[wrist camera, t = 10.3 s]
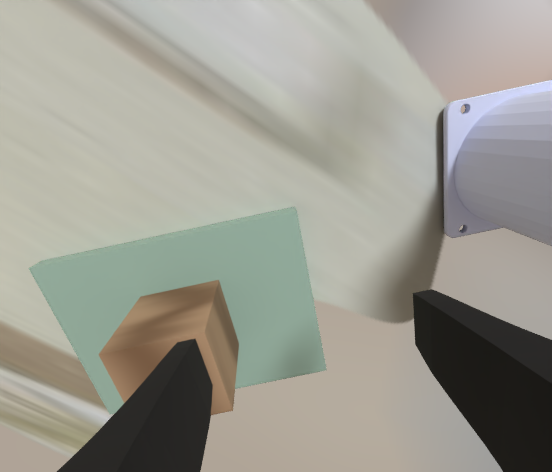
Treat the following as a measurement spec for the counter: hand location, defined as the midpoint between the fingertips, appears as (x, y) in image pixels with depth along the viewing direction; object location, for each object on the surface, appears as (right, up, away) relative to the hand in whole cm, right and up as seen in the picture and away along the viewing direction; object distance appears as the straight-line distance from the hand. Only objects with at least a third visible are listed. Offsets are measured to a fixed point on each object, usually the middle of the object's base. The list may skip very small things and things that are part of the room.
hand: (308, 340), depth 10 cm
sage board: (-7, -2, +10) cm, 12 cm away
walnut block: (-7, -2, +9) cm, 12 cm away
